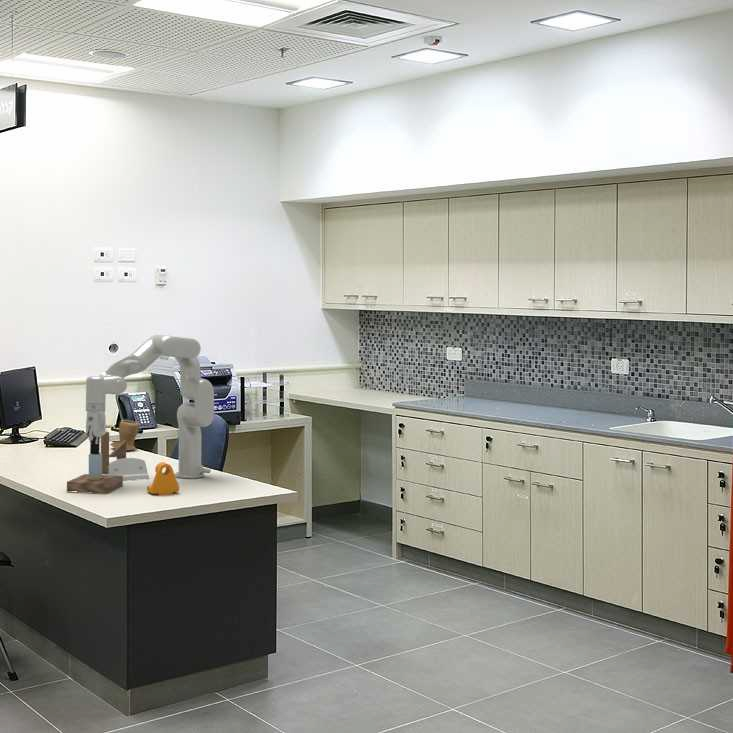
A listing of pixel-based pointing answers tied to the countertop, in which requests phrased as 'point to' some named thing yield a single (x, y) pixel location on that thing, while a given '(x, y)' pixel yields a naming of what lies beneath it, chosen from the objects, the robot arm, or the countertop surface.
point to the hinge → (128, 469)
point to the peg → (95, 466)
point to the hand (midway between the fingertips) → (94, 453)
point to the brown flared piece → (127, 434)
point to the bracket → (163, 481)
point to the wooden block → (118, 452)
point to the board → (95, 484)
